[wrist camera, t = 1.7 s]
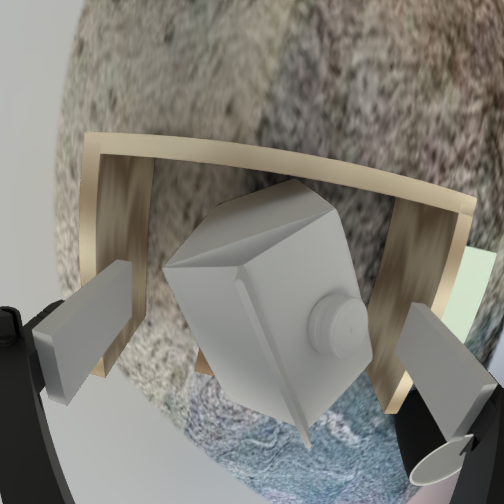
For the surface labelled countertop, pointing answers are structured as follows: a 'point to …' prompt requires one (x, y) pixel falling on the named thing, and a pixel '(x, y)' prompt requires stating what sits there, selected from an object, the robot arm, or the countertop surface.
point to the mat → (468, 290)
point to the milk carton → (274, 302)
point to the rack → (290, 163)
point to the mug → (426, 443)
